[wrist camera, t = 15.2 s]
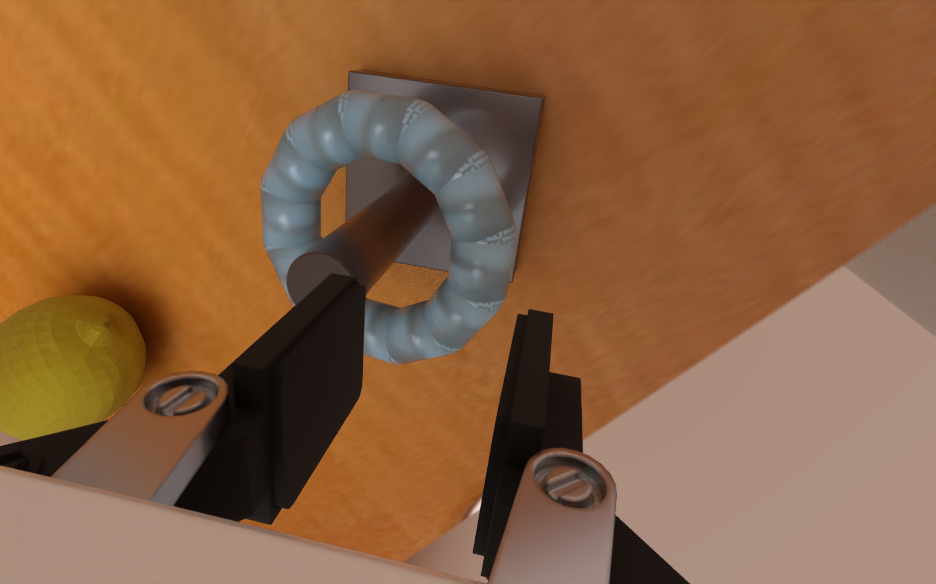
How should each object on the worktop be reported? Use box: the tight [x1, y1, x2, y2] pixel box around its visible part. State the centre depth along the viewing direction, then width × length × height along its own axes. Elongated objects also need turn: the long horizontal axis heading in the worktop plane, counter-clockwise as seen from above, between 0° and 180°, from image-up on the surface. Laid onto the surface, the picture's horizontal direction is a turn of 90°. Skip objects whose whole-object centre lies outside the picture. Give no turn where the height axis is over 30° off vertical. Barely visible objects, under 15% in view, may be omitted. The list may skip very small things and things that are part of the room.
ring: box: [261, 90, 516, 364], centre depth 18 cm, size 9×9×2 cm
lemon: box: [0, 295, 146, 440], centre depth 32 cm, size 11×8×8 cm
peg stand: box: [286, 70, 545, 305], centre depth 21 cm, size 9×9×14 cm
